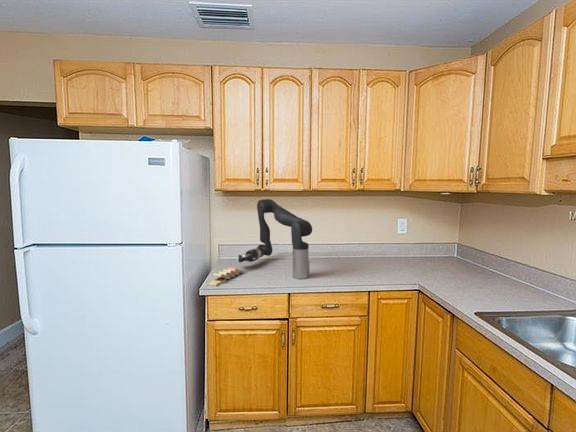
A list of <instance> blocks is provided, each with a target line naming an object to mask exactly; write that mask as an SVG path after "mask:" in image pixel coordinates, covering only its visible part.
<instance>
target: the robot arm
mask: <svg viewBox="0 0 576 432" xmlns="http://www.w3.org/2000/svg"><path fill="white" fill-rule="evenodd" d="M256 208H257V209H256V210H257V216H258V223H259V240H260V242H261V243H262V244H259V245H258V246H257V247H256V248H252V249H249V250H247V251H246V252H245V253H244V254H238V262H239V263H243V262H250V263H251V262H255V261H257V260H260V259H261V258H262V257H264V256H269V257H270V256H271V255H272V254H273V245H272V241H271V229H270V227H269V224H268V223H267V221H266V219H265V214H267V213H268V214H270V213H272V214H273V216H274V219H275V221H276V222H278V223H279V224H281V225H283V226H284V227H288V228H289V227H290V233H291V234H290V235H291V243H292V278H293V279H297V280H304V279H308V278H309V277H310V263H311V262H310V260H309V246H310V245H309V243H308V242H306V241H304V240H303V238H302V237H308V236H311V234H312V233H313V226H312V224H311V223H310V222H309V221H308V220H306V219H303V218H302V217H298V216H297V215H295V214H294V213H292V212H290V211H289V210H287V209H286V208H284V207H282V206H281V205H279V203H277V202H275V201H274V200H273V199H270V198H265V199H260V200H258V201H257V205H256Z"/></svg>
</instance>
